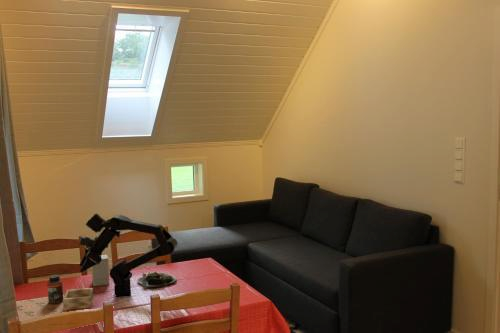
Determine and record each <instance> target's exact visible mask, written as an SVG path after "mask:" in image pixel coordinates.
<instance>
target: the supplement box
mask: <svg viewBox="0 0 500 333" xmlns="http://www.w3.org/2000/svg"><path fill="white" fill-rule="evenodd" d="M101 259H102V261H101V262H100V263H99V264H97V265H95V266H93V267H91V280H92V281H91V282H92V286H93V287H97V286H104V285H110V269H109V268H110V267H109V256H108V254H102V255H101Z"/></svg>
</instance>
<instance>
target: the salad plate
mask: <svg viewBox="0 0 500 333" xmlns="http://www.w3.org/2000/svg"><path fill="white" fill-rule="evenodd" d="M136 281H137V283H138V284H140V285H141V286H142V287H143V288H146V289H150V290H153V289H155V290H156V289H161V288H165V287H169V286H173V285H174V284H176V282H177V277H175V276H173V275H170V274H169V273H166V272H156V271H154V272H148V273H142V277H141V276H140V277H139V278H137V280H136Z"/></svg>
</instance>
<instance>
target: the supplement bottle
mask: <svg viewBox="0 0 500 333" xmlns="http://www.w3.org/2000/svg"><path fill="white" fill-rule="evenodd" d="M48 278H49V280H48V281H47V299H48V300H47V302H48V303H49V304H51V305H52V304H54V305H55V304H59V303H62V302H63V299H64V287H63V281H62V280H63V279H61V278H60V275H59V274H52V275H50V276H49V277H48Z"/></svg>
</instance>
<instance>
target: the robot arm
mask: <svg viewBox="0 0 500 333" xmlns="http://www.w3.org/2000/svg"><path fill="white" fill-rule="evenodd" d="M85 226H87V228H89V229H90V230H91V231H93V232H94V233H95V234H97V233H100V234H99V235H98V236H95V238H92V237H88V236H85V235H81V236H80V239H79V241H78V244H79V245H81V246H84V254H83V257H82V259H81V261H80V263H79V266H80V267H81V268H80V270H79V272H81V273H83V272H85V271H87V270H89V269H90V268H91V269H92V267H93V266H95V265H97V264H99V263H100V262H101V261H102V259H101V255H103V252H104V251H105V249H107V248H109V245H110V243H111V242H112V241H113V240H114V239H115V237H118V238H122V235H121V232H122V231H134V232H139V233H145V234H149V235H154V237H155V239H156V241H157V243H158V245H157V246H156V247H155V248H152V249H150V250H149V251H147V252H145V253H142V254H141V255H139V256H136V257H135V258H132V259H130V260H126V258H124V259H122V260H119V261H117V262H116V263H115V264H113V266H111V267H112V268H111V269H109V278H111V279H112V281H113V283H114V286H113V288H114V289H113V291H114V296H115V298H125V297H131V296H132V290H131V288H132V287H131V286H132V285H131V278H132V277H133V273H132V272H131V271H132V270H134V269H136V268H139V267H140V266H143V265H144V264H146V263H148V262H150V261H152V260H154V259H156V258H159V257H165V256H168V255H171V254H173V253H174V252H175V250H177V248H178V241H177V240H176V238H173V236H172V235H171V233H170V232H168V231H167V230H166V229H165V227H164V226H163V225H162V224H156V223H149V222H145V221H144V222H143V221H140V220H139V221H138V220H134V219H132V218H129V217H128V216H125V215H122V214H116V215H114V216H113V217H111V218H110V219H109V218H108V219H106V220H105V219H104V218H103V217H101V216H100V214H98V213H95V214H93V216H91V217H90V219H88V220H87V221H86V223H85Z"/></svg>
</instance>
